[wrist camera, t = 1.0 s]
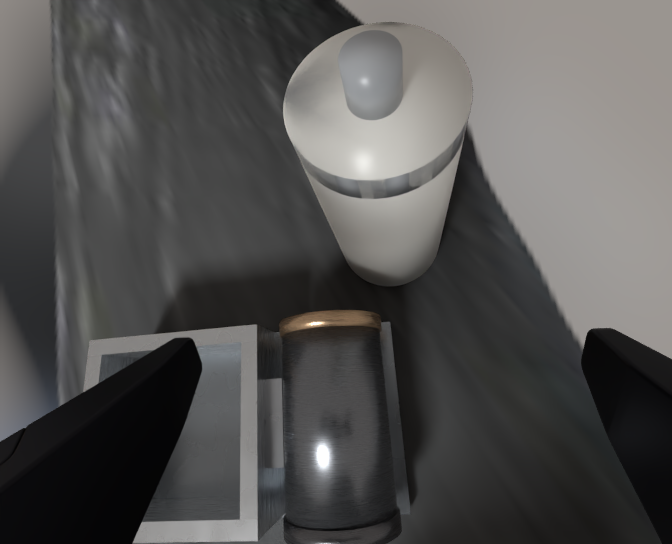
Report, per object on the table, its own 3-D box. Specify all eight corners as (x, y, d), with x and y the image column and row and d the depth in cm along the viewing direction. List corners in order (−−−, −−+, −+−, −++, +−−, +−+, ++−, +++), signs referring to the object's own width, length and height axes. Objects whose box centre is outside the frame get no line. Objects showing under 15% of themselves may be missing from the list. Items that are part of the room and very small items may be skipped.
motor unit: (410, 510, 20) (412, 555, 14) (131, 517, 22) (42, 558, 17) (390, 323, 23) (385, 302, 17) (145, 346, 25) (73, 333, 20)
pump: (446, 280, 23) (502, 128, 10) (345, 291, 24) (268, 165, 10) (432, 189, 25) (462, -45, 11) (338, 202, 26) (265, -2, 12)
